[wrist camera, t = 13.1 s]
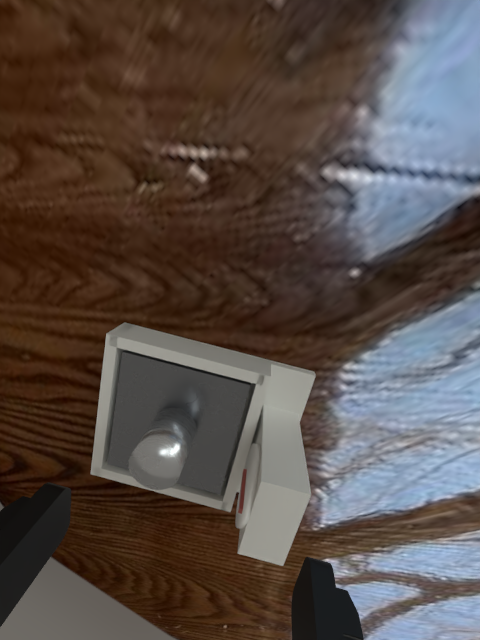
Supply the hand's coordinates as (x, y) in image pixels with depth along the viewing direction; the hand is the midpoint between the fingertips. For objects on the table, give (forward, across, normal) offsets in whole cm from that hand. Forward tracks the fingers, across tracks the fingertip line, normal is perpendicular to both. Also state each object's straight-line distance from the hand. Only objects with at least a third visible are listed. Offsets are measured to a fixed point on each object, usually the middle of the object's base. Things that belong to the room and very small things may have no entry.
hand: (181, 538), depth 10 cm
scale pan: (+21, +6, +12) cm, 25 cm away
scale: (+24, +3, +12) cm, 27 cm away
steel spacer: (+20, +6, +12) cm, 24 cm away
